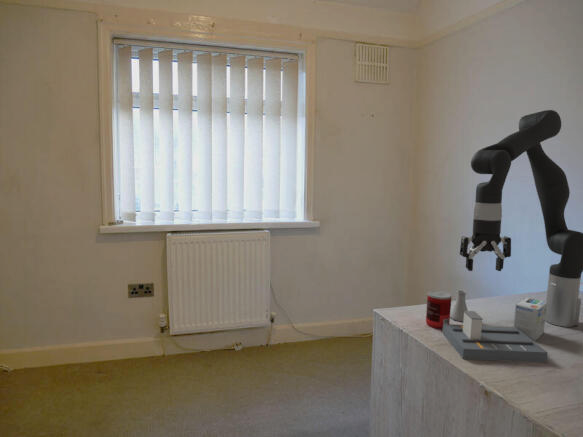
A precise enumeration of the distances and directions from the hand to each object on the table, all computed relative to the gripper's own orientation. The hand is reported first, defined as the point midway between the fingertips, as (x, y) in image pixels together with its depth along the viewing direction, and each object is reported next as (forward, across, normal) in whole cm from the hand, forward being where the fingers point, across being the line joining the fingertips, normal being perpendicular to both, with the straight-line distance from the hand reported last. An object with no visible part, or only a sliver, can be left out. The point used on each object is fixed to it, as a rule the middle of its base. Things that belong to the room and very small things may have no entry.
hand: (484, 270), depth 122 cm
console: (+23, -2, +3) cm, 23 cm away
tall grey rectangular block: (+19, +4, +3) cm, 20 cm away
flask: (+23, -1, -20) cm, 31 cm away
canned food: (+23, +9, -13) cm, 28 cm away
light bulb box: (+24, -19, -7) cm, 31 cm away
